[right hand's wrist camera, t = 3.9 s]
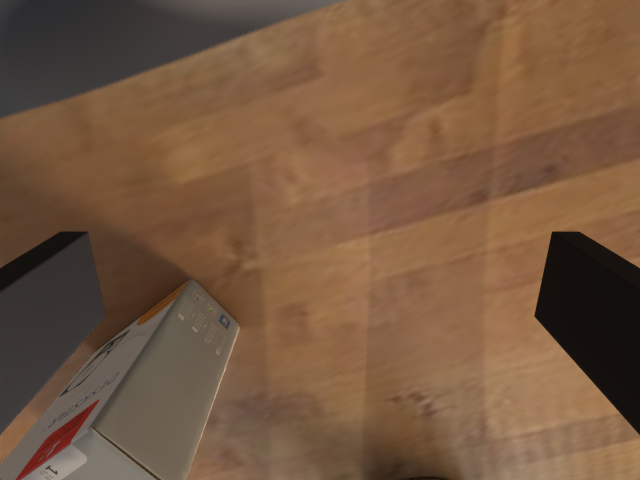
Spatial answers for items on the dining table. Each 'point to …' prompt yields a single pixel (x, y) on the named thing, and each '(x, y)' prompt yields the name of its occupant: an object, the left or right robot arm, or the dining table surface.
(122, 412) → the hard drive box
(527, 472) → the dining table surface
